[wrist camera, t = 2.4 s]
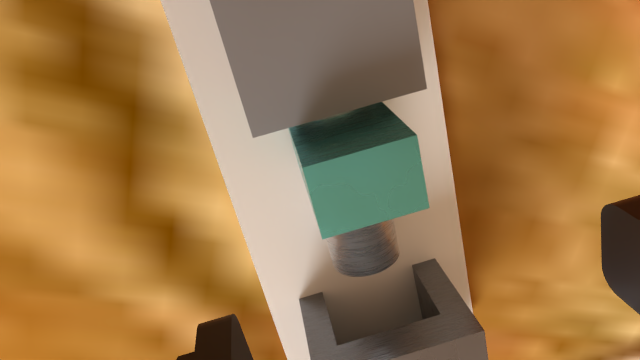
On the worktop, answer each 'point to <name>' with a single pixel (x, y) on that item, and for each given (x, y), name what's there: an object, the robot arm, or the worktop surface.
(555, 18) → the worktop surface
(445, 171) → the board
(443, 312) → the socket
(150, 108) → the worktop surface
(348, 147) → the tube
